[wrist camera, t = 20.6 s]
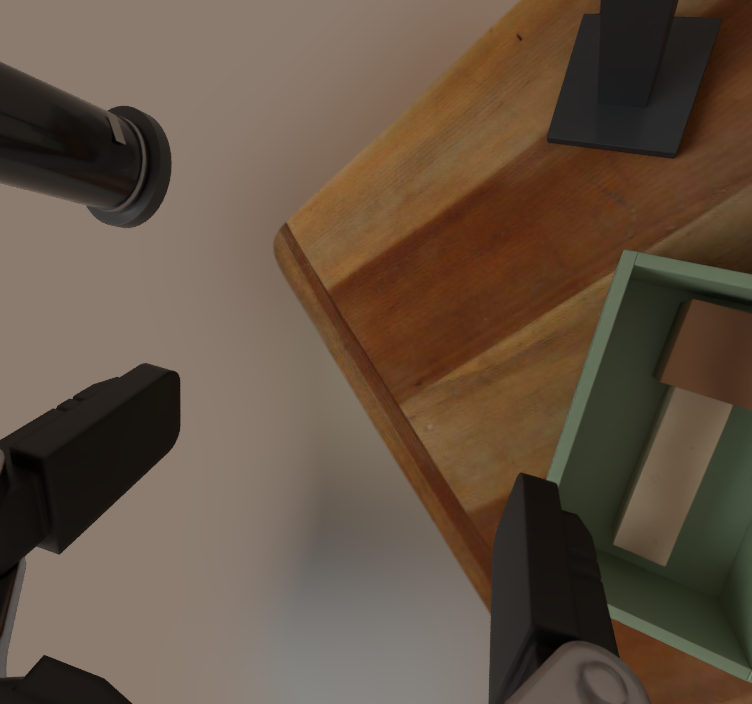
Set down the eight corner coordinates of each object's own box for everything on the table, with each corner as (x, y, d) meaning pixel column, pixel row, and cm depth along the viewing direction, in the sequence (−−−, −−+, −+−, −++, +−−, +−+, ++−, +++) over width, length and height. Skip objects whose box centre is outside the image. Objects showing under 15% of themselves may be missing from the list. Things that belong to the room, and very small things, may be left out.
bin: (529, 526, 36) (515, 573, 29) (616, 266, 33) (624, 248, 26) (724, 609, 31) (763, 689, 24) (845, 315, 28) (930, 309, 21)
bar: (595, 520, 33) (596, 543, 30) (680, 302, 31) (692, 298, 27) (675, 554, 31) (687, 584, 28) (773, 325, 29) (799, 324, 25)
